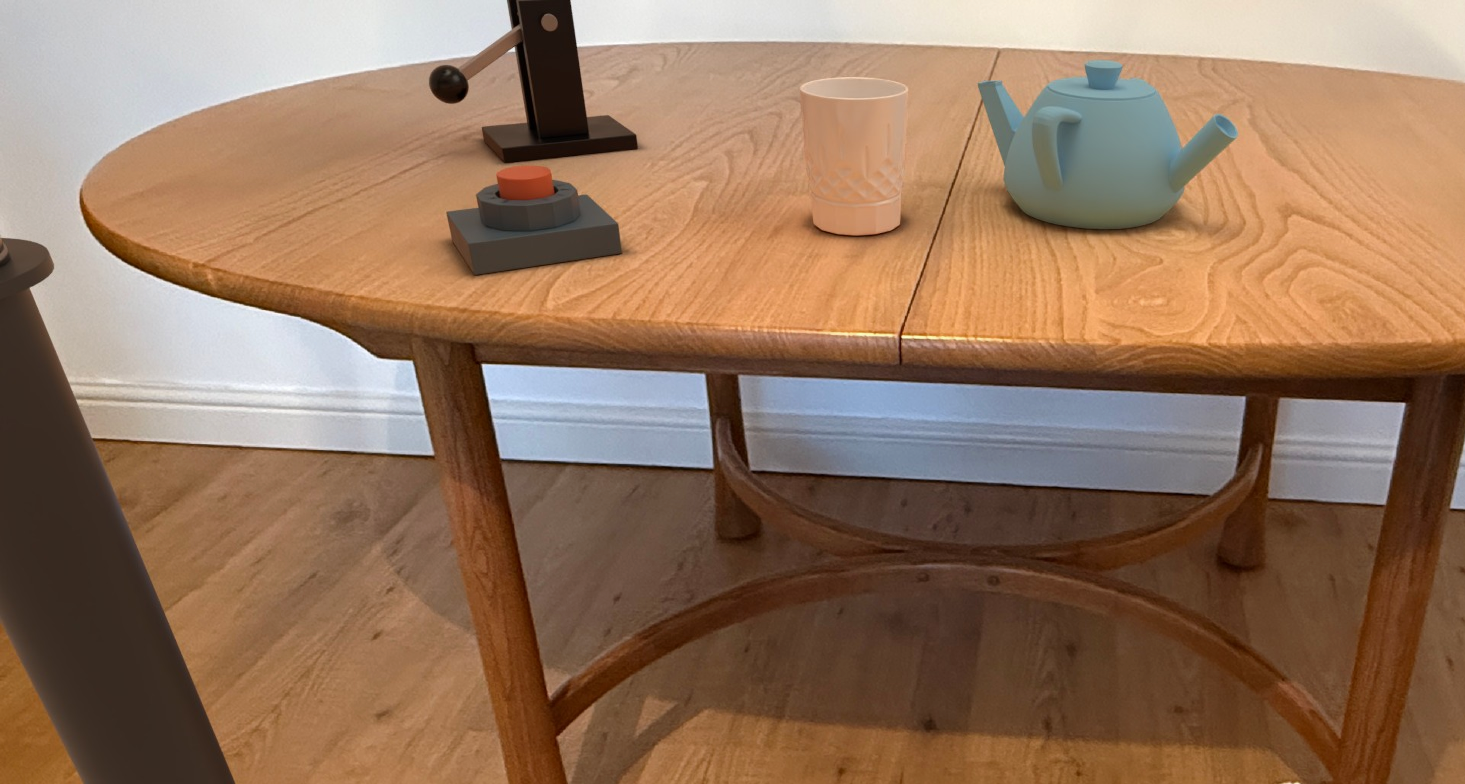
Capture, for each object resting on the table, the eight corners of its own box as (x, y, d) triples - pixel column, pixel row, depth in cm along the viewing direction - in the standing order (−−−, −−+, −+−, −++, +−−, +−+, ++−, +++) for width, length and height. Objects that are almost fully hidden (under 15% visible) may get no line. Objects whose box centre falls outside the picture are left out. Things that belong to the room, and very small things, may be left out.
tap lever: (450, 114, 99) (423, 82, 97) (443, 107, 102) (417, 75, 99) (569, 27, 101) (546, -6, 99) (560, 22, 103) (537, -11, 101)
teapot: (1042, 248, 84) (1053, 88, 78) (971, 186, 98) (975, 46, 92) (1229, 234, 88) (1253, 81, 82) (1135, 176, 102) (1149, 42, 96)
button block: (474, 275, 76) (462, 216, 74) (452, 241, 82) (440, 185, 80) (622, 253, 81) (615, 197, 79) (591, 222, 86) (583, 169, 84)
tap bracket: (504, 163, 101) (476, 5, 94) (483, 140, 107) (455, -8, 101) (638, 148, 106) (620, -1, 99) (610, 128, 113) (592, -14, 106)
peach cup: (835, 203, 92) (831, 73, 87) (924, 216, 90) (925, 83, 85) (786, 229, 86) (779, 91, 81) (881, 244, 84) (879, 102, 78)
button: (507, 207, 77) (502, 181, 76) (495, 193, 80) (491, 168, 79) (560, 200, 79) (556, 175, 78) (547, 187, 82) (543, 162, 81)
